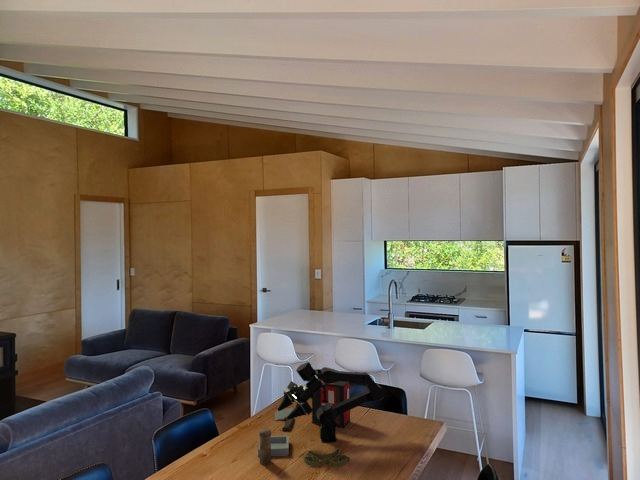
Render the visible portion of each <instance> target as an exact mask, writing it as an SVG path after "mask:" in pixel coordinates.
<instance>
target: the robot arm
mask: <svg viewBox="0 0 640 480" xmlns="http://www.w3.org/2000/svg"><path fill="white" fill-rule="evenodd" d="M295 372H296V373H297V374H298V376H299V377H300V378H301V380H302V381H303V382H306V383H305V384H300V383H298V384H296V383H295V382H294V381H292V380H290V381H289V384H288V385H287V386H286V387H285V389H283V399H282V400H281V402H280V404H279V406H278V408H277V410H278V411H281V410H283V409H284V408H289V407H290V406H292V405H293V404H294V403H296V404H295V408H293V411H292V412H291V413H290V414H289V415H288V417H287V419H288V420H289V419H292V418H294V419H295V418H298V417H302V416H309V415H312V405H310V404H309V402H308V401H309V400H310V399H311V400H312V399H313V398H314V397H313V395H314V394H315V393H316V392H317V391H318V390H319V389H320V388H321V389H322V390H324V391H325V390H326V388H325V386H326V384H323V383H322V382H321V380H322V381H323V382H324V383H327V384H329V383H336V382H339V381H346V382H350V383H362V384H363V383H364V385H365V386H366V388H364V390H363V391H362V392H360V393H358V394H356V395H353V396H350V398H349V399H347V400H345V401H342V402H340V403H338V404H336V405H330V404H329V403H327V404H325V405H323V406H321V407H320V408H319V409H318V410H317V413H316V415H317V417H318V419H319V421H320V423H321V425H320V427H319V439H320V440H321V443H333V442H334V443H336V442H337V437H336V436H337V432H336V431H337V429H336V428H337V427H336V426H337V423H336V422H335V419H336V418H337V416H338V415H340V414H342V413H344V412H347V411H349V410H350V411H352V410H353V409H355V408H357V407H359V406H362V405H363V404H366V403H369V402H370V403H371V402H373V403H374V402H377V401H381V400H383V399H384V398H385V395H386V392H385V389H384V388H383V387H382V386H380V385H379V384H378V383H376V382H375V381H374V379H373V378H372V376H370V374H369V373H368V372H364V371H363V372H360V371H359V372H357V371H343V370H342V371H341V370H337V369H335V368H331V367H326V366H324V367H322V368H321V369H320V368H319V369H314V368H313V367H312V364H311V363H310V362H309V361H306V362H305V363H302V364H300V365H299V366H298V367H297V368H296V370H295ZM317 378H318V379H317ZM320 379H321V380H320Z"/></svg>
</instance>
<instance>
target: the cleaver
mask: <svg viewBox="0 0 640 480" xmlns="http://www.w3.org/2000/svg"><path fill="white" fill-rule="evenodd" d="M293 410H294V408H293V407H286V408H284V409H283V410H281V411H278V409H277V410H276V411H275V412H274V421H277V422H279V421H280V422H281V421H282V422H283V421H285V422H284V425H283V427H282V429H281V430H282V431H283V432H289V431H290V430H291V428H292V426H293V424H294V419H295V418H292V419H289V420H288V419H287V417H288V415H289V414H290V413H291V412H292V411H293Z"/></svg>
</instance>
